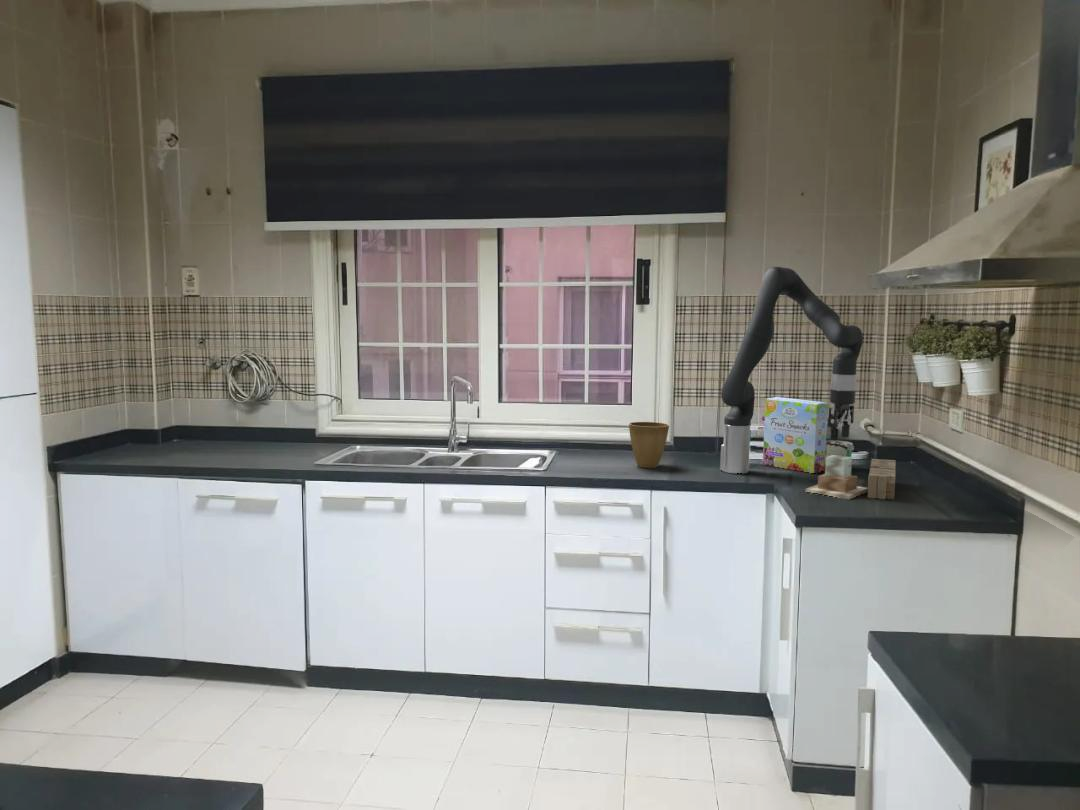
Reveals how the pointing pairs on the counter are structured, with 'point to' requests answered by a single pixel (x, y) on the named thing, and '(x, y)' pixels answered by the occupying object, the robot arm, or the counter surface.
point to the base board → (838, 494)
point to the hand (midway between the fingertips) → (839, 438)
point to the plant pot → (648, 442)
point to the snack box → (795, 434)
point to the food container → (839, 448)
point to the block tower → (882, 479)
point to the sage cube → (838, 466)
